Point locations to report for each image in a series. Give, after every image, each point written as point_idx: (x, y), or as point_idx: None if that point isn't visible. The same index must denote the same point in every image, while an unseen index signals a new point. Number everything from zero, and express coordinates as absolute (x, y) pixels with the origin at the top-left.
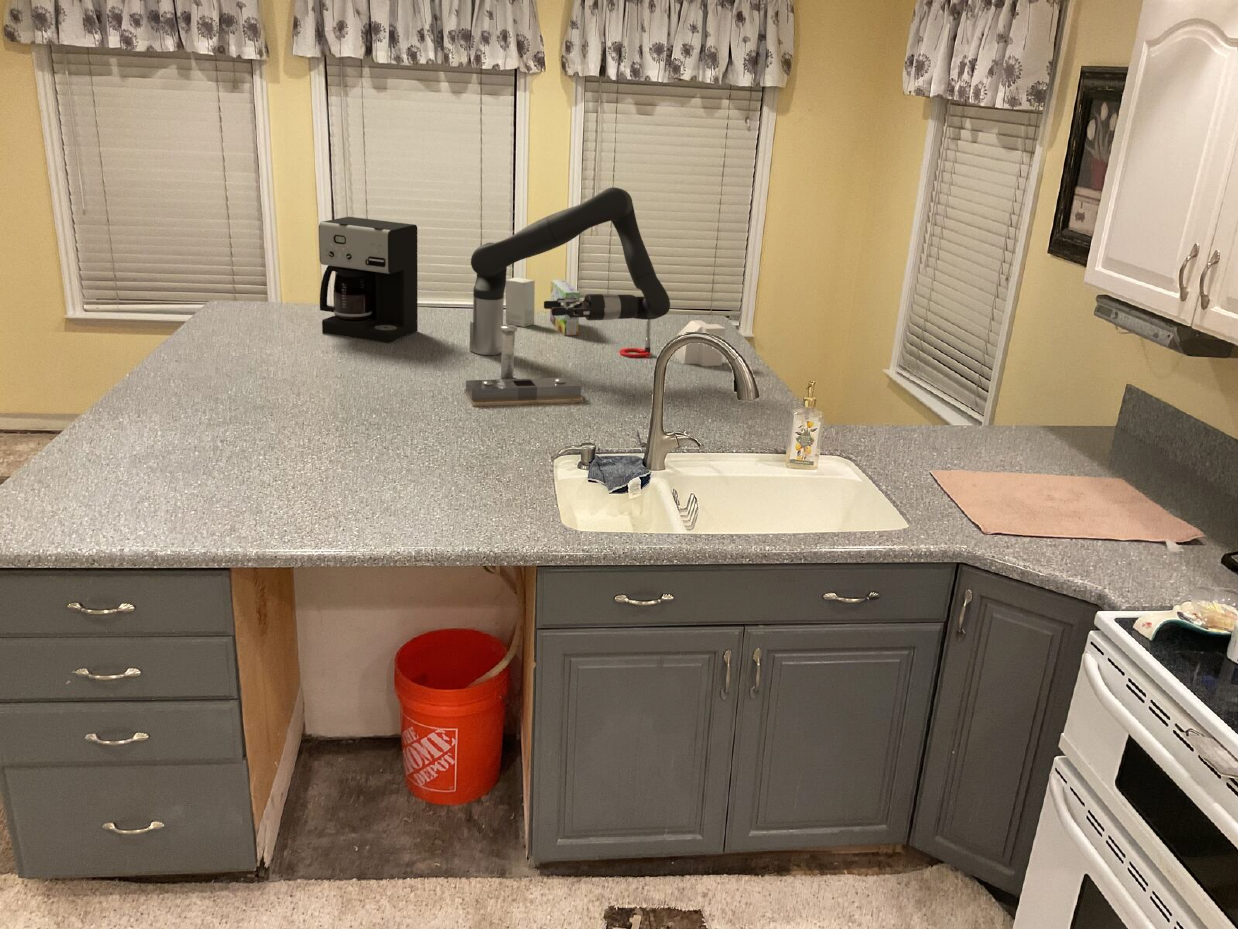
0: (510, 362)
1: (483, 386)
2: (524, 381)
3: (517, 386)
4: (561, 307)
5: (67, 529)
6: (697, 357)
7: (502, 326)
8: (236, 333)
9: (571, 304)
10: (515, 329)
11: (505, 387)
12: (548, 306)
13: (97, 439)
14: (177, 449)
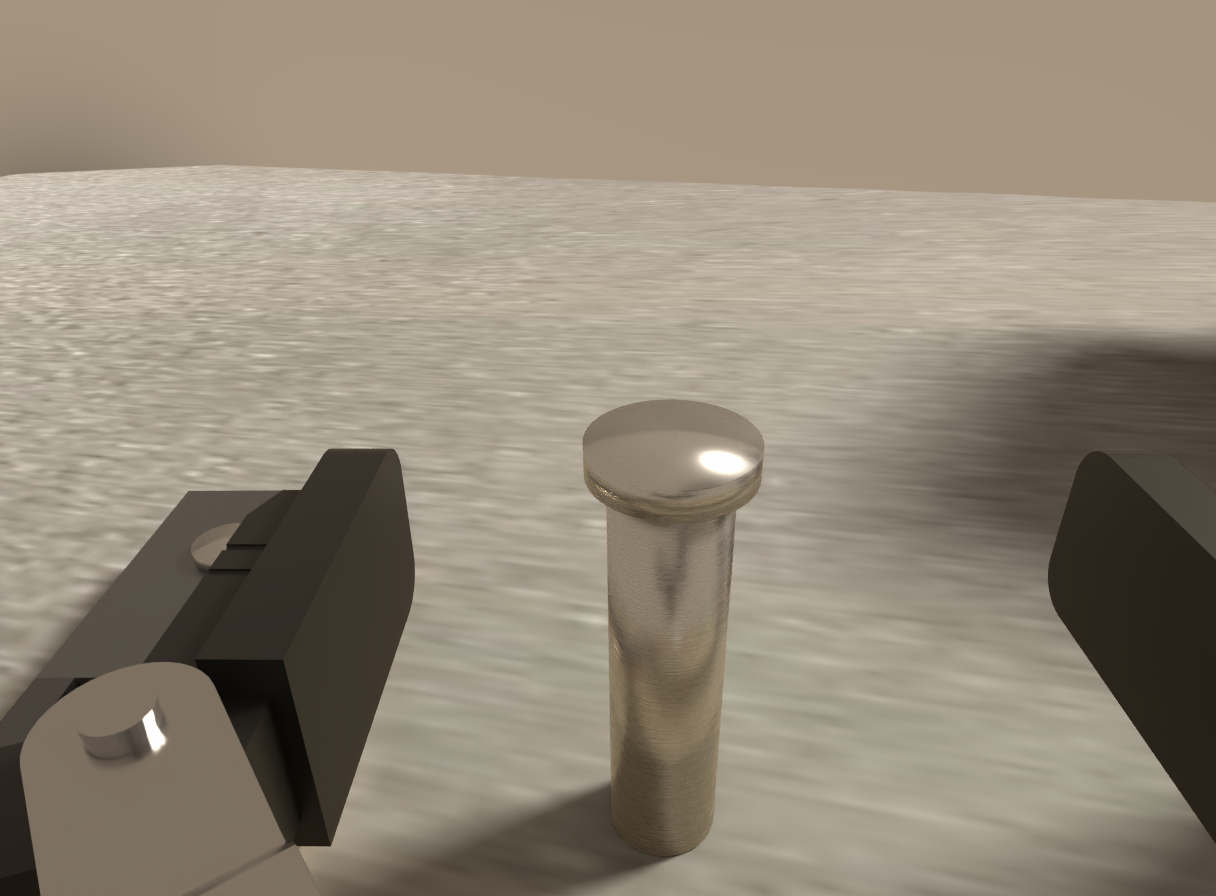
0: (612, 717)
1: (201, 533)
2: None
3: (67, 679)
4: (281, 581)
5: (23, 185)
6: None
7: (681, 410)
8: (1139, 230)
9: (232, 889)
10: (602, 482)
11: (102, 616)
12: (1099, 608)
13: (361, 181)
14: (254, 212)
